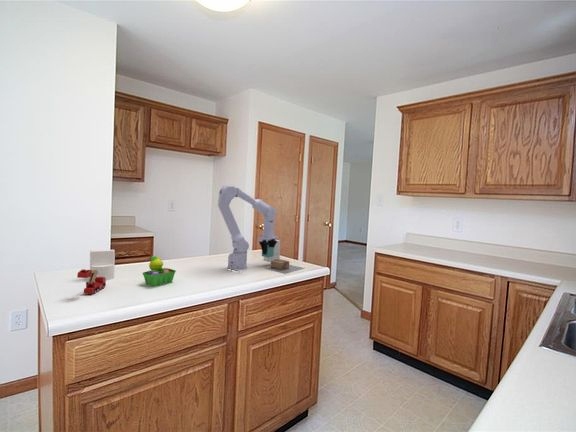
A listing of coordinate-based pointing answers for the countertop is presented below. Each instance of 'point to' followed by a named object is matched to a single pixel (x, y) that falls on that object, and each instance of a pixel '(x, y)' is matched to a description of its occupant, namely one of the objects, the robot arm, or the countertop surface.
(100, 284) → the toy fire truck
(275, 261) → the base brick
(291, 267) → the baseplate
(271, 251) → the teal block
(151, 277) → the fruit basket
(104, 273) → the base with upright slab
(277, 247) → the small box
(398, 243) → the countertop surface
